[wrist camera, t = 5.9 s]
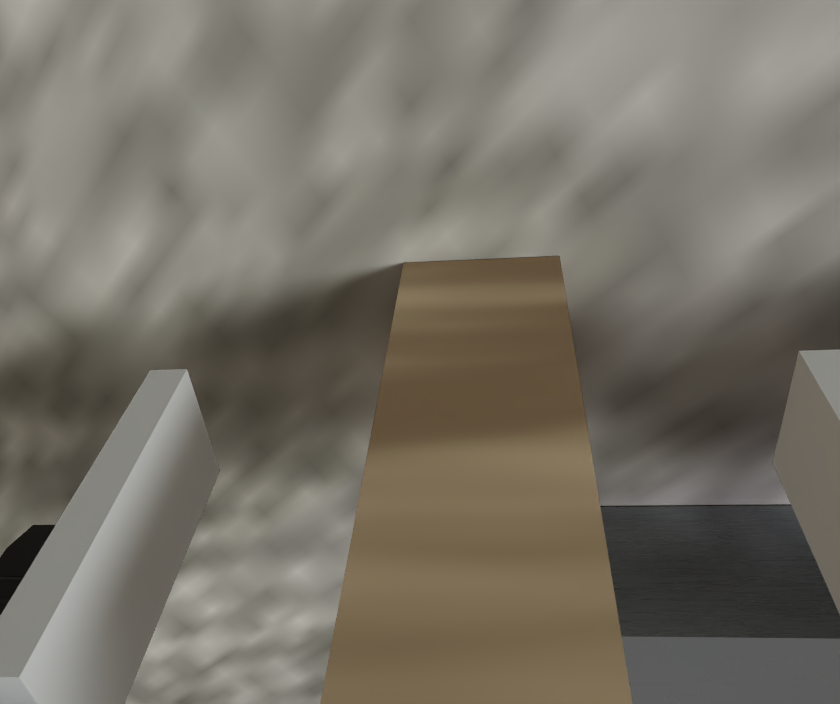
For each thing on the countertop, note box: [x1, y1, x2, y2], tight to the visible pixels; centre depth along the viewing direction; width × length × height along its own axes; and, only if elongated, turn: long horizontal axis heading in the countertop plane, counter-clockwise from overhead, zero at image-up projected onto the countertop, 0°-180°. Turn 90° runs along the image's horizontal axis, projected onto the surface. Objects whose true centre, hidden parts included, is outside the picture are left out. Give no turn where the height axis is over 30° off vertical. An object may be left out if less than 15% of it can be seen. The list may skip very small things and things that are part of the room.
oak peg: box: [320, 256, 632, 704], centre depth 13 cm, size 3×3×12 cm
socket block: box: [600, 505, 840, 704], centre depth 22 cm, size 12×12×4 cm
